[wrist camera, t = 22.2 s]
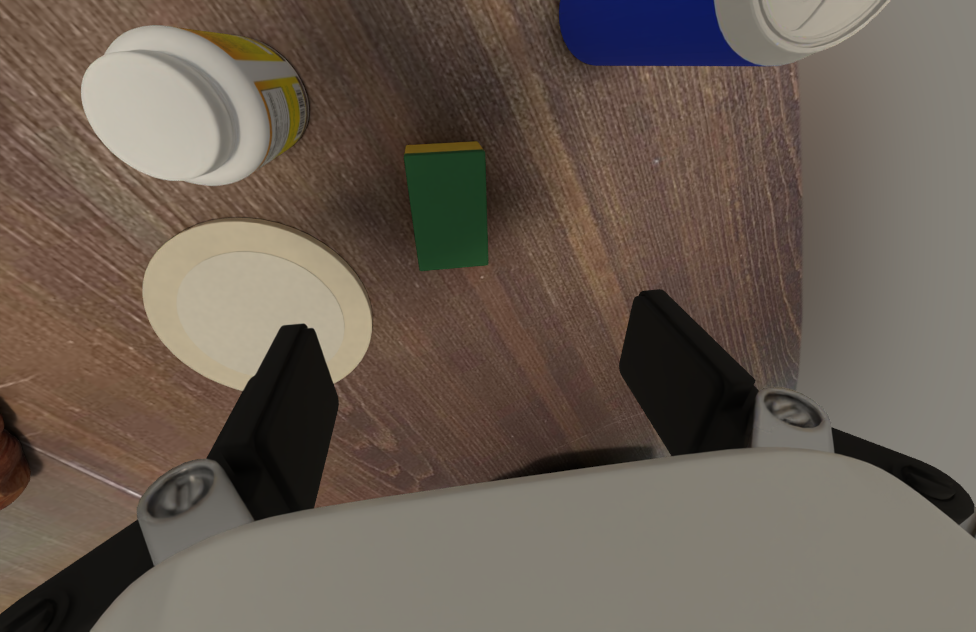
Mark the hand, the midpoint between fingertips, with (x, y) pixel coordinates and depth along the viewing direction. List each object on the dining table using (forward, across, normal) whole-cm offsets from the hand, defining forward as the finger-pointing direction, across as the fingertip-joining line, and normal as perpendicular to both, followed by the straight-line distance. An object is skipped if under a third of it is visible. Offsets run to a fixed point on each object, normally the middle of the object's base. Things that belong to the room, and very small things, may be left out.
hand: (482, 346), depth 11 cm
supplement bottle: (+17, +10, -6) cm, 21 cm away
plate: (+17, +14, +8) cm, 24 cm away
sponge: (+17, 0, +1) cm, 17 cm away
